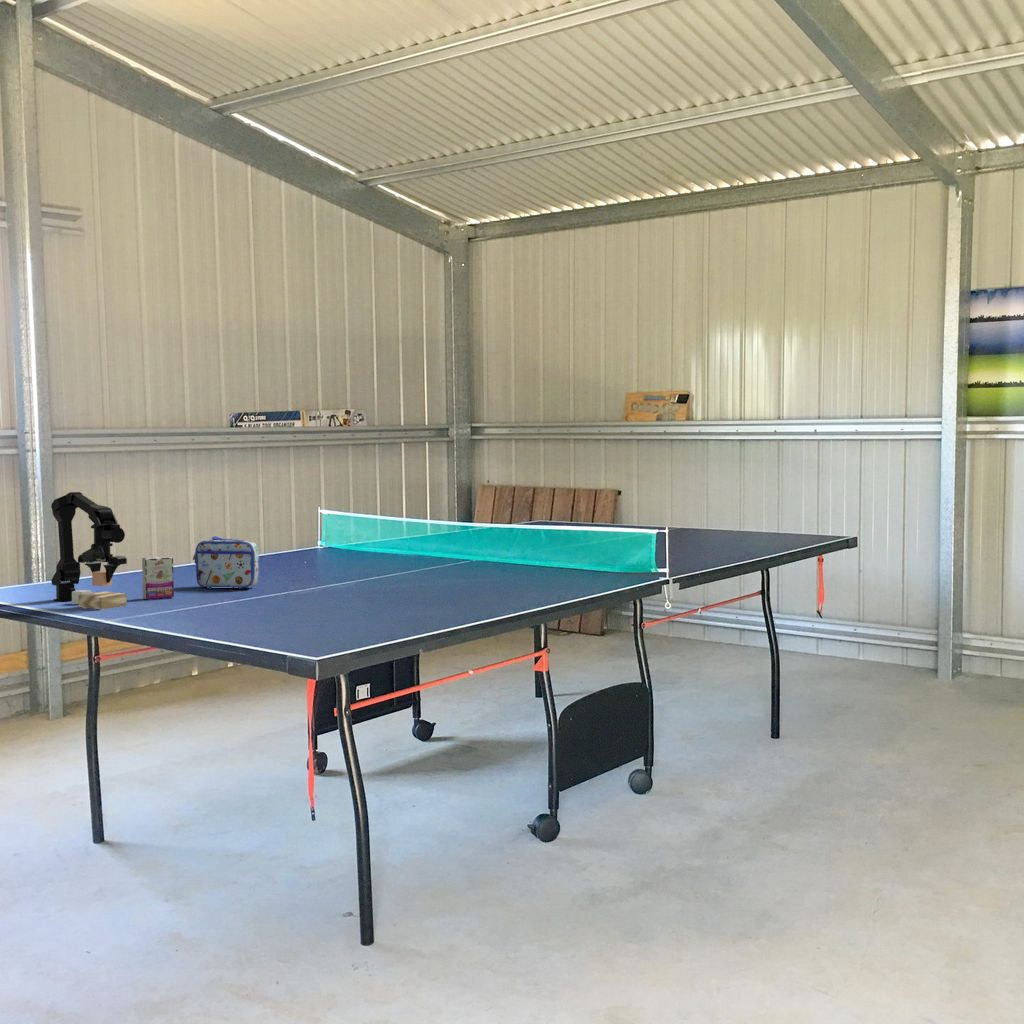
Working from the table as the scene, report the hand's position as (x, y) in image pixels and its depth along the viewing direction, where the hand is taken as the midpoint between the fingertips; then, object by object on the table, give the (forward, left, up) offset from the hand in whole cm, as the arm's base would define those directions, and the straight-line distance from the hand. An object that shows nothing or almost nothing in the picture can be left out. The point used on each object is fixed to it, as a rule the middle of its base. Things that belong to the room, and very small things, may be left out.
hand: (102, 582), depth 404 cm
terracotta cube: (0, 0, -1) cm, 1 cm away
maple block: (0, 0, -10) cm, 10 cm away
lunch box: (+9, +63, -10) cm, 64 cm away
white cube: (-12, +2, -9) cm, 15 cm away
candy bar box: (+4, +26, -10) cm, 28 cm away
